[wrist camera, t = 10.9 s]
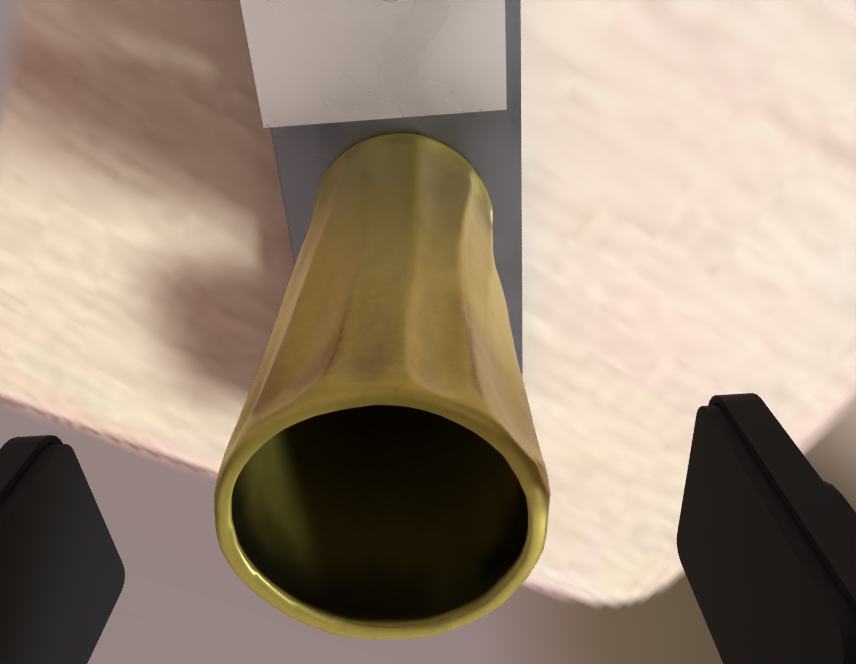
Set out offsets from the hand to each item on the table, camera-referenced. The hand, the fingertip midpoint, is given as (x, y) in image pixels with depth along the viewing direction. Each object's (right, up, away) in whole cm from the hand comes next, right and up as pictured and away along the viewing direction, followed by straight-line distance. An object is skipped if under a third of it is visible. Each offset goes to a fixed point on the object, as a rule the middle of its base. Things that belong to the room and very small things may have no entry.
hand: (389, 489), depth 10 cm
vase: (0, +6, +13) cm, 14 cm away
